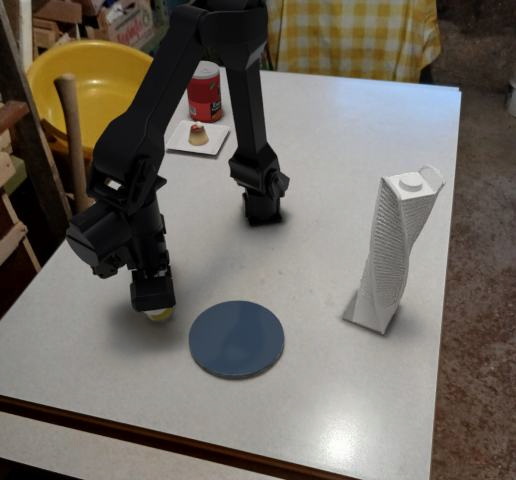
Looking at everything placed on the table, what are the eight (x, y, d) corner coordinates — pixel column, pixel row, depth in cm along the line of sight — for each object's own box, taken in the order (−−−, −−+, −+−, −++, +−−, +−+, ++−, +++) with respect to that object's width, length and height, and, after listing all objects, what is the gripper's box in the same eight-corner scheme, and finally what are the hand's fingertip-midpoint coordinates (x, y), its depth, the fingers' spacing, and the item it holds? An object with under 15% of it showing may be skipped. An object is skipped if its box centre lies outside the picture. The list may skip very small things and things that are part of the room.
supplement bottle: (178, 300, 83) (173, 288, 75) (166, 326, 83) (160, 317, 74) (151, 289, 83) (143, 275, 75) (139, 315, 83) (130, 304, 74)
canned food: (218, 125, 120) (214, 77, 111) (185, 121, 121) (179, 74, 112) (225, 109, 125) (223, 62, 116) (194, 105, 126) (189, 59, 117)
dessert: (164, 152, 113) (161, 131, 109) (182, 124, 120) (179, 104, 116) (216, 159, 111) (214, 138, 107) (230, 130, 118) (229, 110, 114)
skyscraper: (406, 310, 84) (458, 158, 62) (389, 343, 80) (439, 194, 58) (359, 292, 87) (392, 140, 65) (340, 324, 82) (369, 173, 60)
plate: (271, 299, 86) (271, 293, 85) (294, 370, 77) (294, 365, 76) (183, 314, 84) (182, 308, 83) (196, 388, 75) (195, 383, 74)
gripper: (82, 187, 76) (106, 261, 88) (82, 278, 65) (109, 348, 78) (157, 179, 77) (170, 253, 90) (169, 266, 66) (182, 337, 79)
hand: (157, 295), depth 84 cm, fingers closed, pressing on supplement bottle
